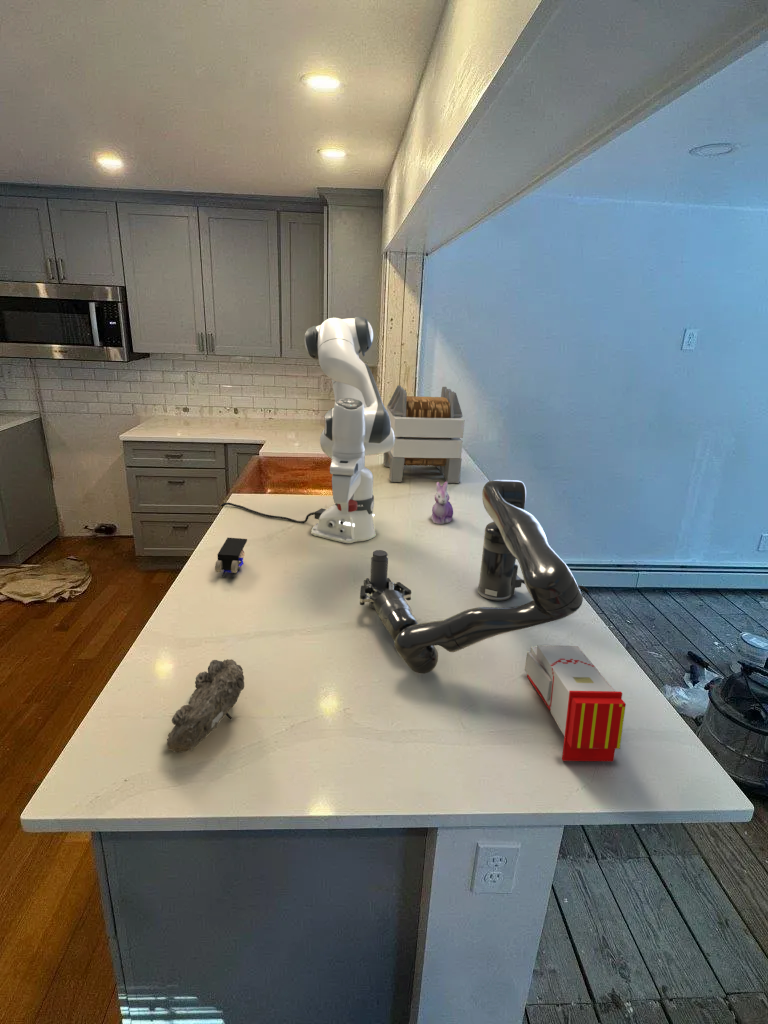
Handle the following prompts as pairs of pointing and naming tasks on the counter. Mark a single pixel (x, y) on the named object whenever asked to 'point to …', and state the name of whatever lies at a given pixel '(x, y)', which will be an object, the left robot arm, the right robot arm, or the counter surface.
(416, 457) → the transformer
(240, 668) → the fossil
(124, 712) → the counter surface
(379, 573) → the jar
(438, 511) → the figurine
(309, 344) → the left robot arm
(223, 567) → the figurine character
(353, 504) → the lid
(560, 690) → the toy
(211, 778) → the counter surface
